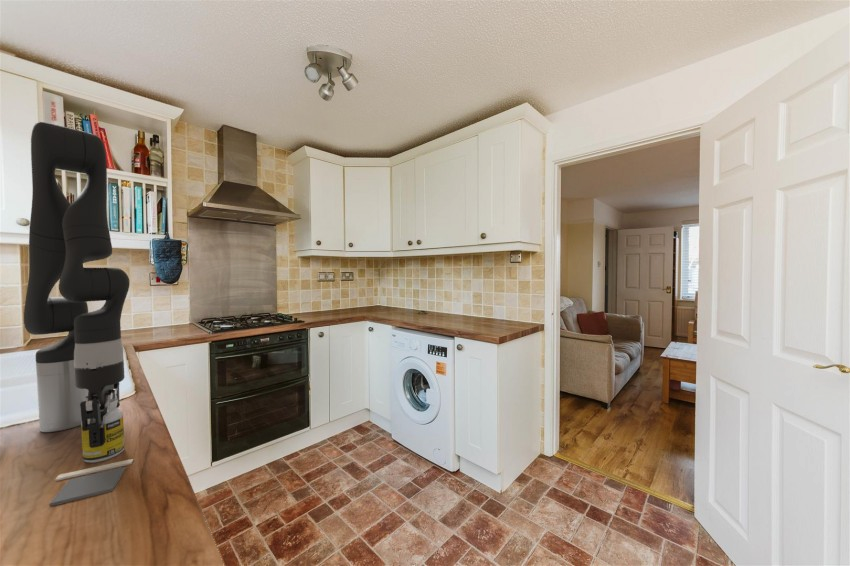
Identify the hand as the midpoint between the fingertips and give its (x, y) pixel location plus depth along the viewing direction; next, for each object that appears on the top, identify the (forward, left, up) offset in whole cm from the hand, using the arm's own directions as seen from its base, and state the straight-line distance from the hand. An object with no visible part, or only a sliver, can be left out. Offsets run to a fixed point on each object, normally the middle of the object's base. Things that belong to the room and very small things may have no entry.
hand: (103, 438), depth 72 cm
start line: (+6, 0, -4) cm, 8 cm away
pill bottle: (0, 0, -4) cm, 4 cm away
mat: (+13, +1, -4) cm, 13 cm away
